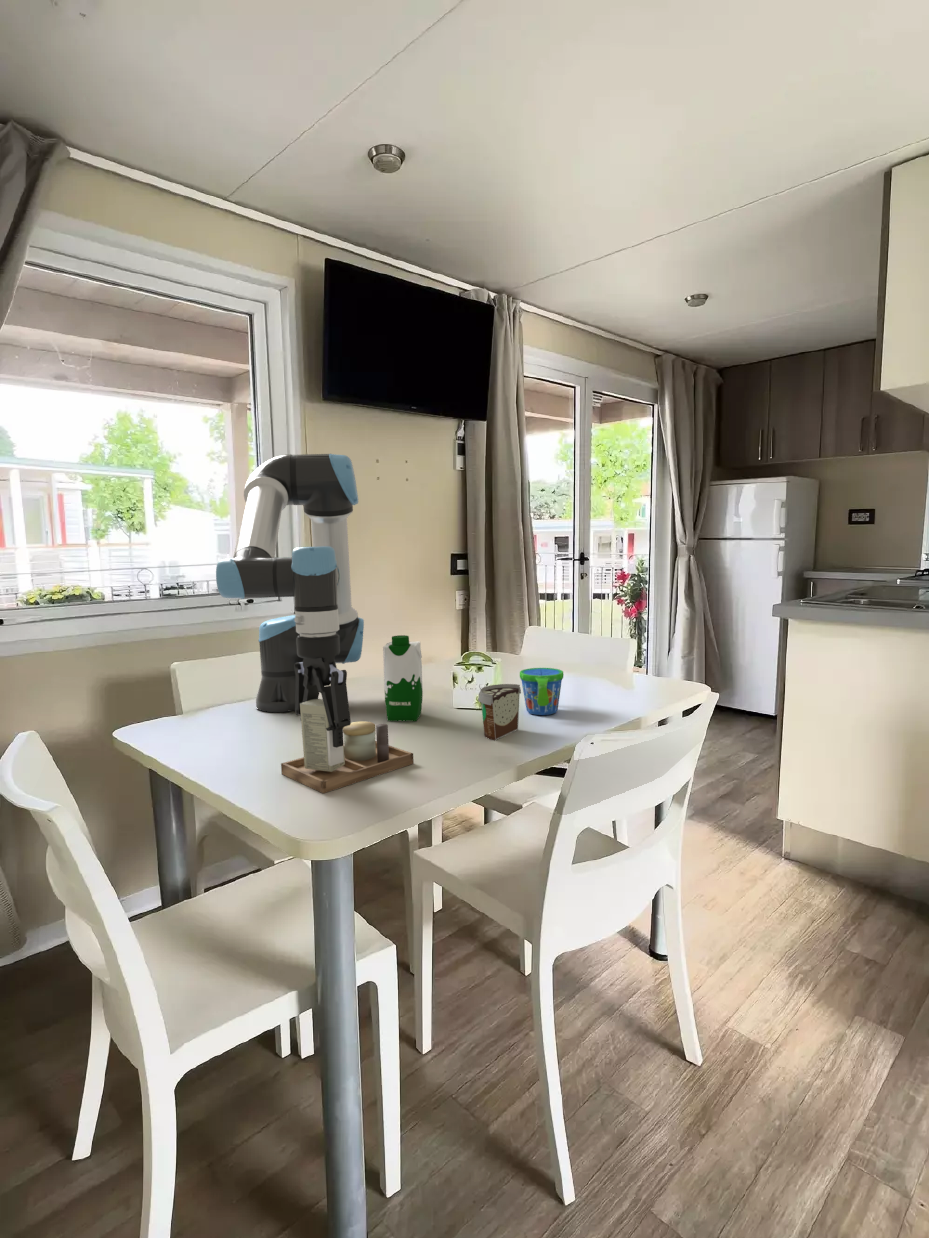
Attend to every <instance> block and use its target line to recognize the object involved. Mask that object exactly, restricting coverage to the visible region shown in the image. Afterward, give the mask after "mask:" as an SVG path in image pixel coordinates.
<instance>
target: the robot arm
mask: <svg viewBox="0 0 929 1238" xmlns="http://www.w3.org/2000/svg"><path fill="white" fill-rule="evenodd" d="M243 498H244V502H245V507H244V510H243V516H242V519H241V523H240V528H239V532H238V535H237V541H236V544H235V548H234V553H233V557H228V558H222V559H220V560H218V562H217V564H216V568H215V569H216V570H215V581H216V586H217V590H218V593H219V595H220V596H221V597H222V598H224V599H240V600H245V599H260V598H261V599H265V598H266V599H267V598H288V597H289V598H292V597H293V599H294V611H295V612H294V613H295V614H292V615H287V616H280V617H276V618H271V619H268V620H265V621H263V622H262V623H261V624H260V625H259V627H258V634H259V635H258V643H259V653H260V654H259V655H260V656H259V657H260V673H261V675H260V676H261V680H260V683H259V687H258V691H257V693H256V699H255V708H256V707H257V708H258V709H259V710H258V709H257V708H256V709H257V710H258V711H261V710H263V711H262V712H266V711H267V713H285V712H295V715H296V716H300V717H299V718H301V712H300V703H303V702H306V701H309V700H312V699H319V695H320V694H321V699H323V703H324V707H325V711H326V715H327V719H328V723H329V727H328V728H326V730H327V746H328V765H330V766H332V765H336V764H339V763H342V762H344V757H343V742H344V733H343V728H344V727H345V726H349V725H350V724H351V723H352V722H351V713H350V704H349V696H348V687H347V677H348V672H347V670H346V669H338V667H337V664H342V665H345V664H348V663H356V662H359V660H360V659H361V657H362V651H363V639H364V631H365V629H364V628H365V627H364V626H365V620H364V618H363V617H359V613H358V611H357V610H356V609H355V608H354V607H353V605H352V590H351V589H352V587H351V572H350V571H351V570H350V568H351V567H350V552H349V551H350V550H349V534H348V533H349V532H348V529H349V528H348V519H349V516H351V515H352V514H353V512H354V509H353V508H354V507H353V506H356V505H358V504H359V495H358V487H357V482H356V476H355V470H354V465H353V462H352V460H351V458H350V456H348V455H345V454H335V453H315V454H314V453H311V454H309V453H307V454H306V453H305V454H291V453H290V454H282V455H277V456H273V457H272V458H270V459H268V460H267V461H265V462H263V463H262V464H260V465H259V466H258V467H257V468H256V469H255V470H254V471H253V472H252V473H251V474H250V475H249V477H248V479H247V480H246V483H245V485H244V490H243ZM287 506H303V514H304V515H305V516H307V517H308V519H310V523H311V524H310V525H311V539H312V546H298V547H294V548H293V550H292V552H291V556H288V557H287V556H283V557H277V556H275V555H276V549H277V543H278V538H279V537H278V536H279V529H280V523H281V518H282V512H283V511H284V510H285V508H286V507H287ZM334 721H335V722H334Z"/></svg>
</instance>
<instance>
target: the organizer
mask: <svg viewBox="0 0 929 1238" xmlns="http://www.w3.org/2000/svg"><path fill="white" fill-rule="evenodd" d="M343 742H344V757H345V765H343V766H341V767H340V768H338V769H336V770H334V771H332V772H330V771H321V770H313V769H306V768H305V765H304V756H303V757H299V758H296V759H292V760H288V761H286V762H281V763H280V765H281V766H280V767H281V768H280V769H281V775H283V776H285V777H287V778H289V779H292V780H294V781H296V782H297V783H300V784H302V785H305V786H306V787H309V788H310V789H313V790H315V791H317V792H319V793H321V794H326V793H329V792H332V791H334V790H338V789H341V788H344V787H347V786H350V785H353V784H356V783H359V782H362V781H364V780H369V779H371V778H374V777H377V776H380V775H384V774H386V773H389V772H392V771H395V770H399V769H402V768H405V767H407V766H410V765H414V753H413V752H410V751H407V750H404V749H400V748H399V747H395V746H392V745H390V744H389V724H386V723H378V724H376V723H374V722H372V721H354V722H351V724H350V725H349V726H345V727H344V728H343Z"/></svg>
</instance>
